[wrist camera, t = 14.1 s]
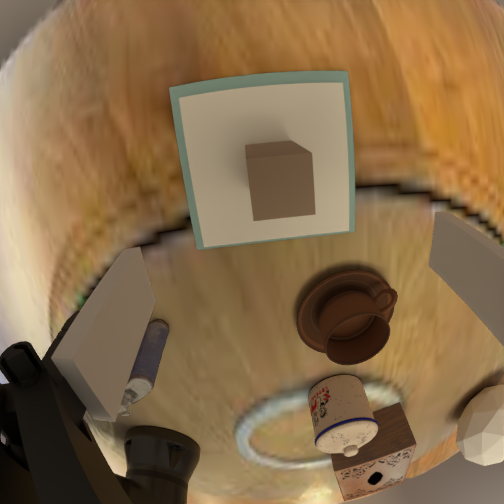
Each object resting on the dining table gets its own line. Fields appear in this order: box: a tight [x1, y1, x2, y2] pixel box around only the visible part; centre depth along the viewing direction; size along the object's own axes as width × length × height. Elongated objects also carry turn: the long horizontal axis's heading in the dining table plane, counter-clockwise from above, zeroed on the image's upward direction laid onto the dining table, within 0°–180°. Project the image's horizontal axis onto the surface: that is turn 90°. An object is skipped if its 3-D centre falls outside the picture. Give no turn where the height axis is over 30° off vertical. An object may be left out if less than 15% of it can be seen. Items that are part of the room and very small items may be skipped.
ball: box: [456, 384, 504, 466], centre depth 41 cm, size 19×20×20 cm
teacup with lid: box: [308, 375, 378, 457], centre depth 38 cm, size 12×9×12 cm
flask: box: [118, 319, 169, 416], centre depth 31 cm, size 10×3×12 cm, turn 129°
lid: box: [179, 83, 349, 247], centre depth 23 cm, size 14×14×9 cm
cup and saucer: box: [297, 270, 398, 365], centre depth 32 cm, size 12×12×6 cm
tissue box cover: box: [331, 402, 416, 501], centre depth 48 cm, size 26×14×10 cm, turn 18°
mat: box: [169, 71, 355, 250], centre depth 27 cm, size 16×16×1 cm
